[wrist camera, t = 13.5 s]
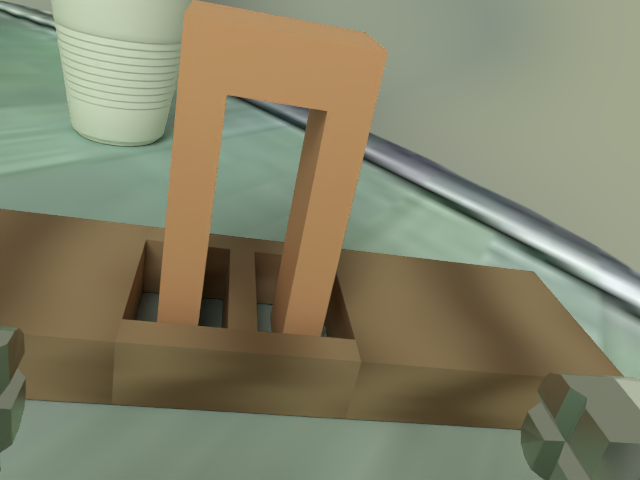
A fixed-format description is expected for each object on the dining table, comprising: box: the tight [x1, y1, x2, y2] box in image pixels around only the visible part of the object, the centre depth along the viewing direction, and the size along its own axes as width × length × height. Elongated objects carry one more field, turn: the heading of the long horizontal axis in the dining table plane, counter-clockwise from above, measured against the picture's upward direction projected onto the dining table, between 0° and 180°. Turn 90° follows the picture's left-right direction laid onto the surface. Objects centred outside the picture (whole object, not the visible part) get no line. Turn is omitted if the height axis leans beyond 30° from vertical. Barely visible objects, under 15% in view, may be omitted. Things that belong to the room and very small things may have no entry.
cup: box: [51, 0, 193, 146], centre depth 40 cm, size 10×10×11 cm
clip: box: [157, 0, 388, 337], centre depth 21 cm, size 6×4×12 cm, turn 97°
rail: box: [0, 209, 624, 429], centre depth 23 cm, size 28×8×2 cm, turn 97°
